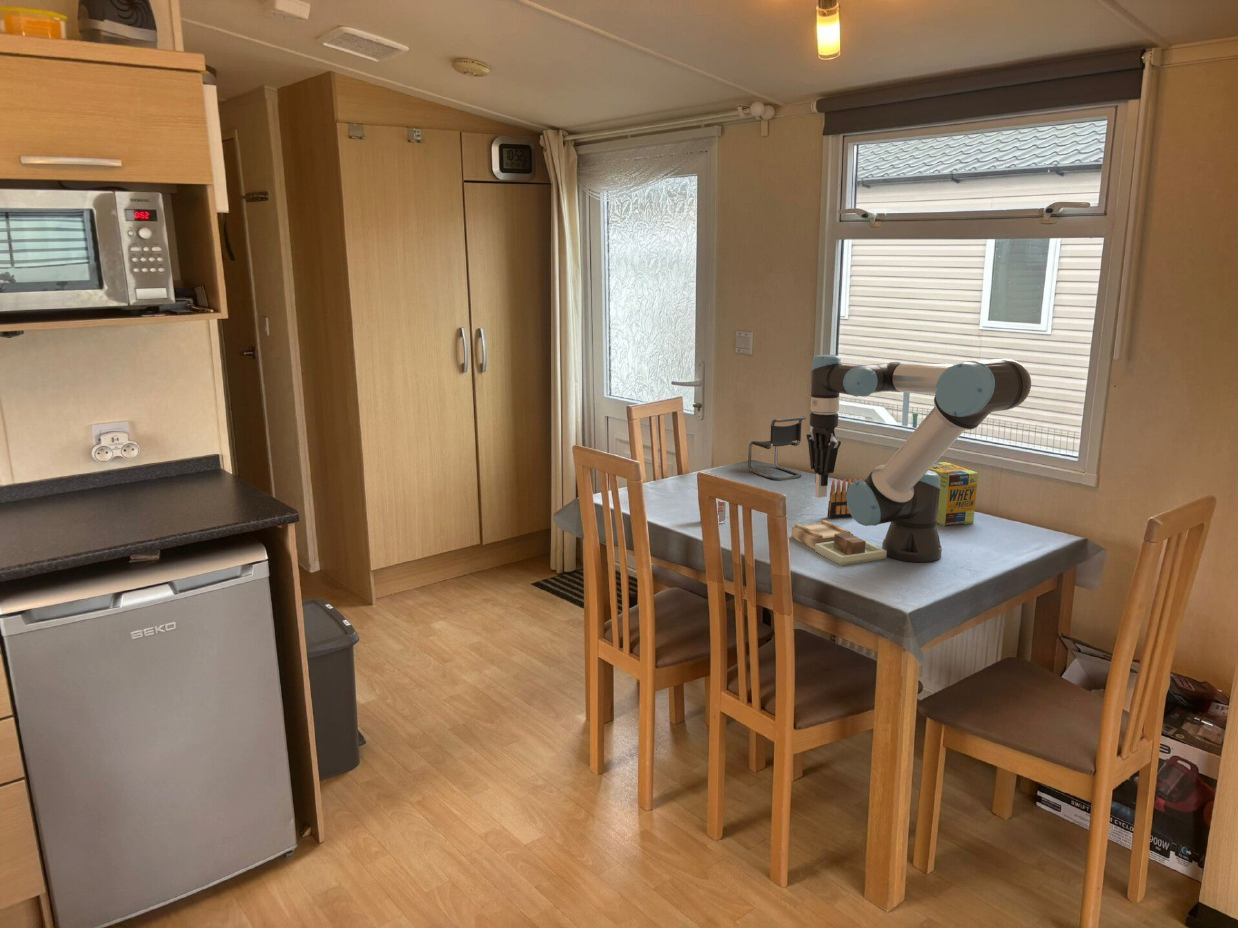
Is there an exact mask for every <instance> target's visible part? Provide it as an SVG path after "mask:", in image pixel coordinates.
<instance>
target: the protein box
mask: <svg viewBox="0 0 1238 928" xmlns="http://www.w3.org/2000/svg"><path fill="white" fill-rule="evenodd" d="M929 470H930V471H933V472H935V473H937V474H938V475H939V477H940V488H941V489H940V495H939V506H938V517H937V524H939V525H941V526H944V527H948V526H957V525H959V526H960V525H966V524H974V522H975V521H974V520H975V510H976V501H977V500H976V499H977V489H978V480H979V479H978V478H979V472H977V471H973V470H972V469H967V468H965V467H962V466H959V465H956V464H953V463H949V462H944V461H943V462H936V463H935V464H934V465H933V466H932V467H931V468H930V469H929Z"/></svg>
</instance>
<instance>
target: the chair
mask: <svg viewBox="0 0 1238 928" xmlns="http://www.w3.org/2000/svg"><path fill="white" fill-rule="evenodd" d="M806 419H807V417H806V415H802V416H798V417H797V416H796V417H787V418H773V420H772V421H771V425H770V440H767V441H766V440H765V441H750V443H749V444H748V452H747V454H748V455H747V457H748V459H747V467H748V470H749V472H751V473H753V474H755V475H758V476H761V477H763V478H766V479H769V480H772V481H785V480H786V481H787V480H792V479H793V480H794V479H799V478H801V477H802V474H801V473H799V472H797V471H794V470H791V469H789V468H786V467H783V466H780V465H779V463H778V456H779V455H778V454H779V447H784V446H789V445H791V446H793V447H797V446H799V445H800V444H801V440H802V421H804V420H806ZM796 421H798V422H797V423H795V424H792V425H786V426H783V425H781V426H780V425H775V424H776V423H784V422H787V423H788V422H796ZM795 441H796V442H795ZM753 446H756V447H760V448H763V449H766V450H770V449H772V448H773V447H774V465H775V468H777V470H778V469H779V470H781V471H784V472H785V473H788V474H792V475H789V476H780V477H779V476H777V477H776V476H771V475H769V474H766V473H763V472H761V471H758V470H755V469H753V468H752V449H753V448H752V447H753ZM794 474H795V475H794Z"/></svg>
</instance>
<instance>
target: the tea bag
mask: <svg viewBox="0 0 1238 928" xmlns="http://www.w3.org/2000/svg"><path fill="white" fill-rule="evenodd" d="M718 515H719V522H721V521H724V520H725V521H726V501H725V502H720V501H718Z"/></svg>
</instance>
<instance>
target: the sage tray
mask: <svg viewBox="0 0 1238 928" xmlns="http://www.w3.org/2000/svg"><path fill="white" fill-rule="evenodd" d="M863 540H864V541H866V543H865V553H859V554H852V555H846V554H844V553H842V552H840V551H838V550H836V549H834V541H831V542H824V543H817V544H815V549H814V552H815V553H816V552H818V553H819V555H820V554H821V555H820V556H822V557H824V556H825V558H826V559H828V560H830V561H832V562H834V563H835V562H836V564H837V563H838V565H839V566H842V565H843V566H848V565H854V564H855V563H856V564H862V563H868V562H873V561H875V562H876V561H881V560H886V559H887V555H886V553H887V551H886V550H884V549H882V547H879V546H877V545H875V544H873V543H871V542H869V541H867V540H865V539H863ZM818 553H817V554H818Z"/></svg>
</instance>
